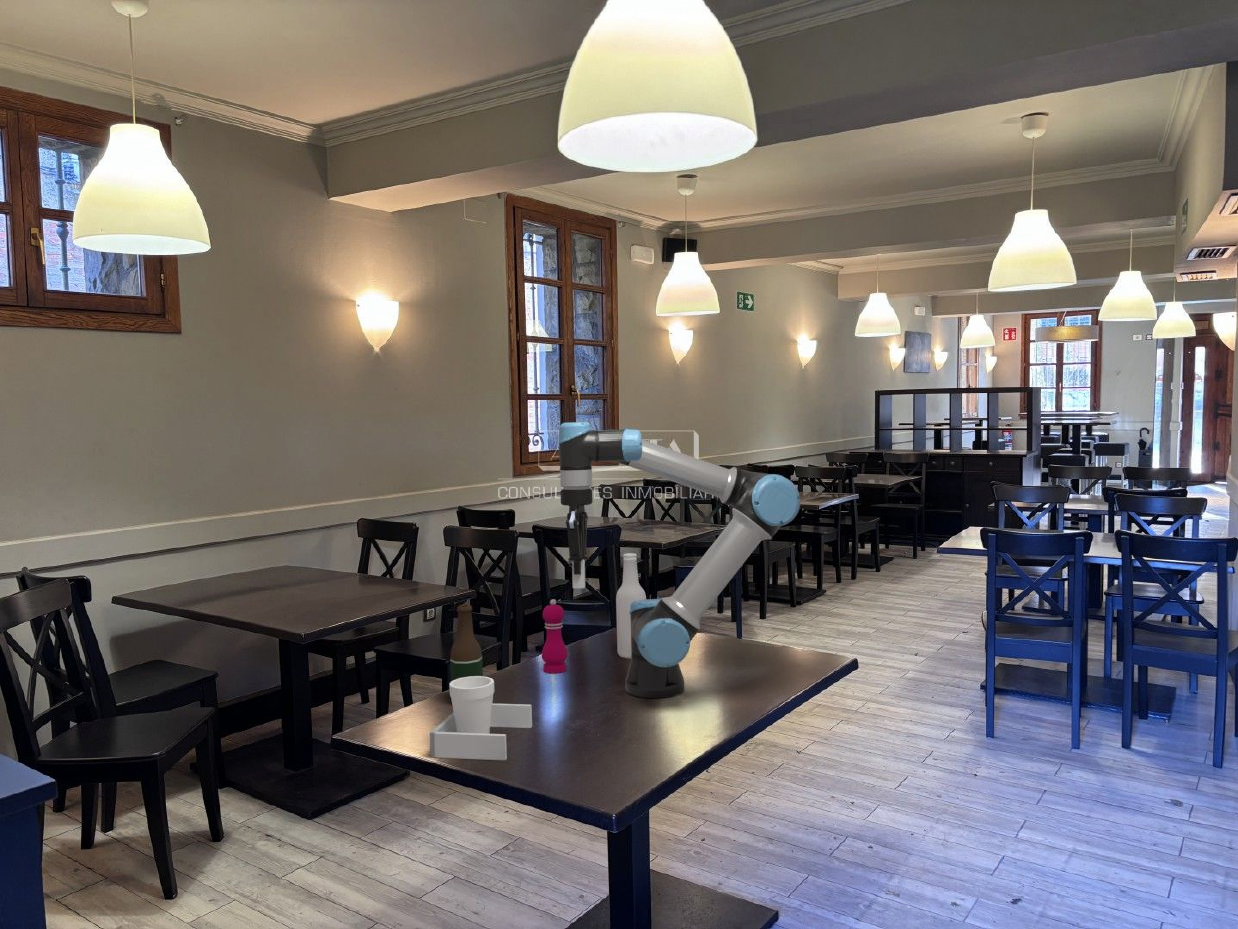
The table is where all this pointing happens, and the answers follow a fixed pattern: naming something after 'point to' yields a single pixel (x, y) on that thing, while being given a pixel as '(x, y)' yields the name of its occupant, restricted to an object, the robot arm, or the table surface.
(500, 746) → the box
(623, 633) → the alcohol
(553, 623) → the pepper mill
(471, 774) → the table surface
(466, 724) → the foam cup
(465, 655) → the beer bottle
